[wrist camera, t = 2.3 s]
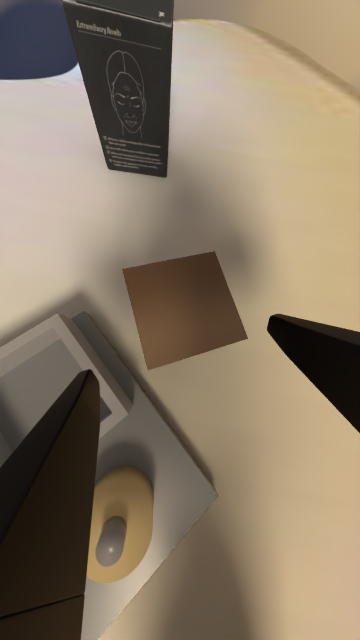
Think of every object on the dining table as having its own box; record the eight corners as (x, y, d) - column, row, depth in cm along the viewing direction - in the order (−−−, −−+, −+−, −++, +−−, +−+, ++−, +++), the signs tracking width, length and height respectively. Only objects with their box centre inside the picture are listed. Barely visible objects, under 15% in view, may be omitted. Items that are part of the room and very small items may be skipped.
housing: (213, 486, 14) (234, 533, 10) (66, 658, 11) (15, 823, 7) (88, 314, 16) (66, 300, 13) (-69, 413, 13) (-165, 437, 9)
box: (168, 149, 23) (175, -13, 13) (166, 179, 22) (173, 24, 12) (112, 140, 22) (72, -44, 12) (106, 170, 21) (57, -7, 11)
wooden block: (192, 350, 17) (247, 338, 6) (155, 362, 16) (147, 370, 6) (181, 315, 18) (214, 251, 7) (145, 325, 17) (122, 269, 6)
